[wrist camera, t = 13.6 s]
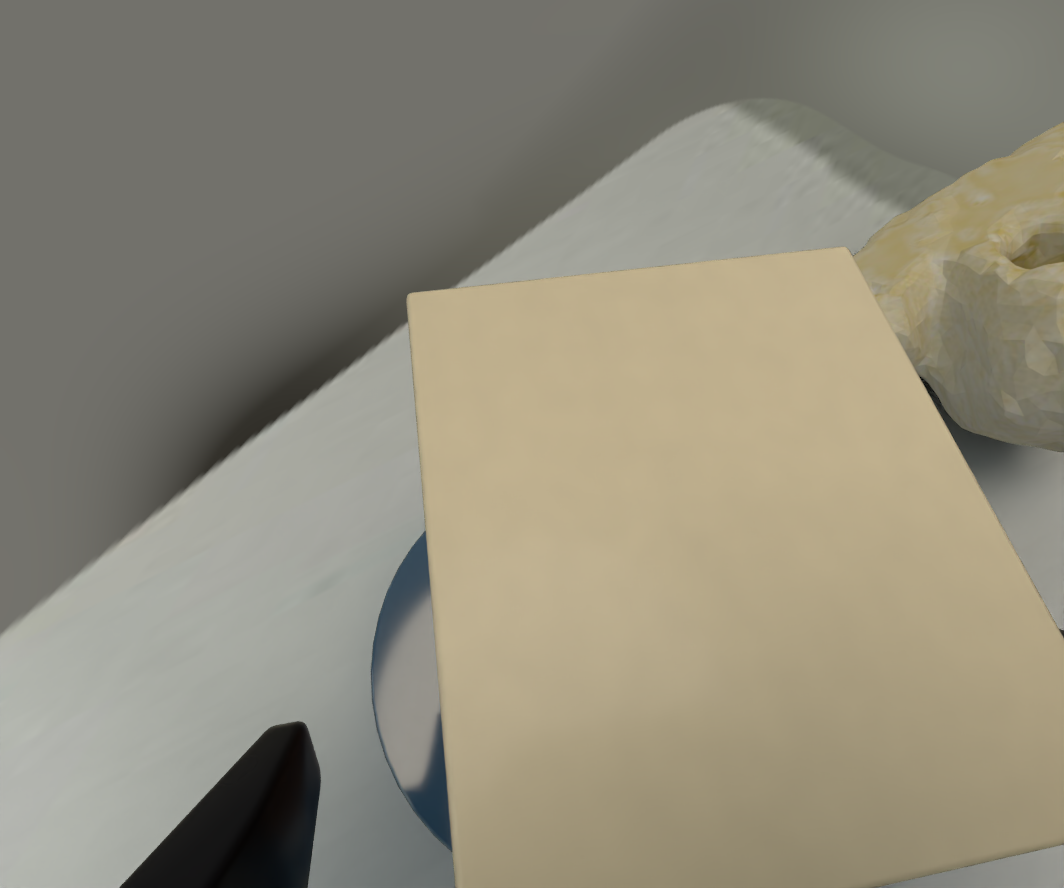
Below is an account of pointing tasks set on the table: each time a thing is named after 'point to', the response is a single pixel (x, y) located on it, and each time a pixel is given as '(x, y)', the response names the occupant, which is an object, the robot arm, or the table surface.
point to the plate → (411, 693)
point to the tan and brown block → (719, 590)
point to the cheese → (984, 293)
